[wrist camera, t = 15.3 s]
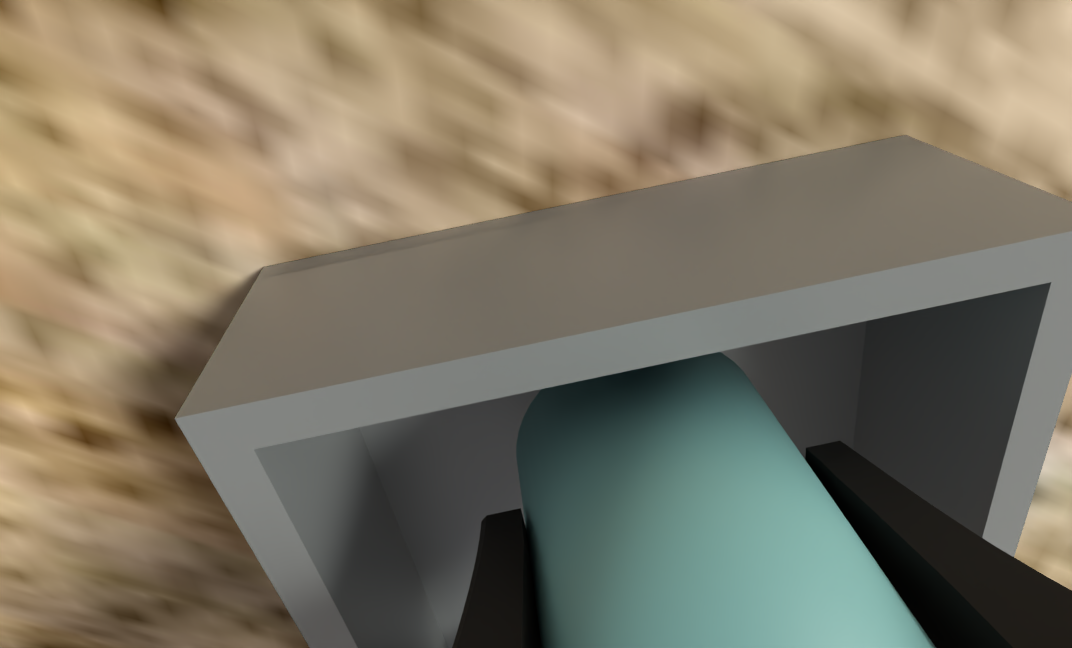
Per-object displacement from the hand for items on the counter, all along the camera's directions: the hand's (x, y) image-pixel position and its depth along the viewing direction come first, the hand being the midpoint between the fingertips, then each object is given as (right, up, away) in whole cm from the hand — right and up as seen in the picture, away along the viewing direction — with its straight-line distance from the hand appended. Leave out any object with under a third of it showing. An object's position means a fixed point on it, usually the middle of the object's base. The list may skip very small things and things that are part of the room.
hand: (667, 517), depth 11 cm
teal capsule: (0, +1, +2) cm, 2 cm away
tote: (0, -1, +6) cm, 7 cm away
